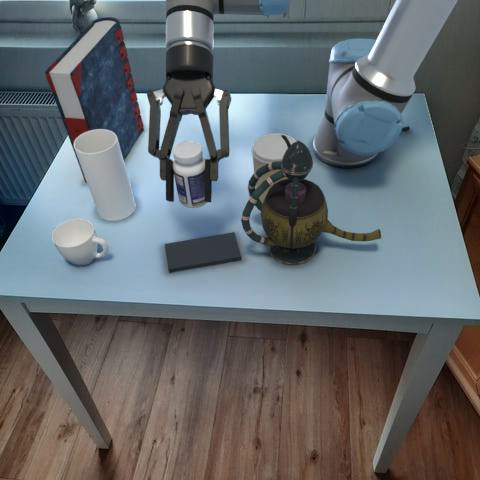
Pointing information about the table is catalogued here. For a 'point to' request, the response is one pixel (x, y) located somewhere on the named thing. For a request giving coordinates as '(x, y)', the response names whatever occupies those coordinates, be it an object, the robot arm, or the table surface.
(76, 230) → the cup
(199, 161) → the pill bottle
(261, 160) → the coffee cup
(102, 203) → the cup
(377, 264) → the table surface
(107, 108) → the book
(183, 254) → the mat
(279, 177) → the teapot
